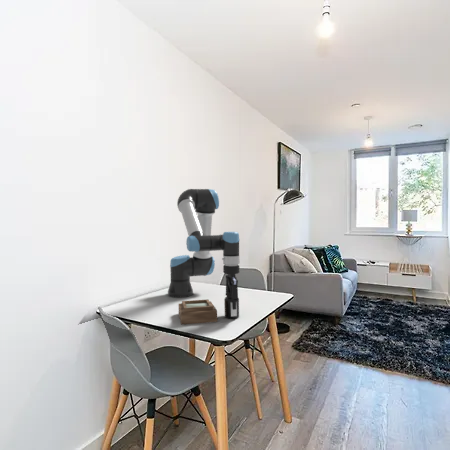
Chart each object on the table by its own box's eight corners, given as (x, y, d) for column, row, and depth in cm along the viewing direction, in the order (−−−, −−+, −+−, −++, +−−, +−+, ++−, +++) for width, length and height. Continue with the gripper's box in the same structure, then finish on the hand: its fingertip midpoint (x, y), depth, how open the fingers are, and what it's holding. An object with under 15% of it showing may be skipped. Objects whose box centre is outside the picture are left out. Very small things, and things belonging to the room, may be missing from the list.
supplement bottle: (236, 319, 144) (236, 293, 144) (222, 318, 146) (222, 292, 146) (241, 315, 150) (240, 290, 150) (227, 313, 153) (227, 289, 153)
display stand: (178, 313, 154) (178, 300, 154) (211, 311, 157) (210, 298, 157) (181, 324, 138) (181, 309, 138) (217, 321, 142) (217, 307, 142)
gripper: (219, 262, 157) (219, 308, 157) (228, 268, 137) (228, 320, 138) (233, 261, 158) (234, 307, 159) (244, 267, 139) (245, 319, 140)
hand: (231, 313), depth 148 cm, fingers closed on supplement bottle, 7 cm apart
